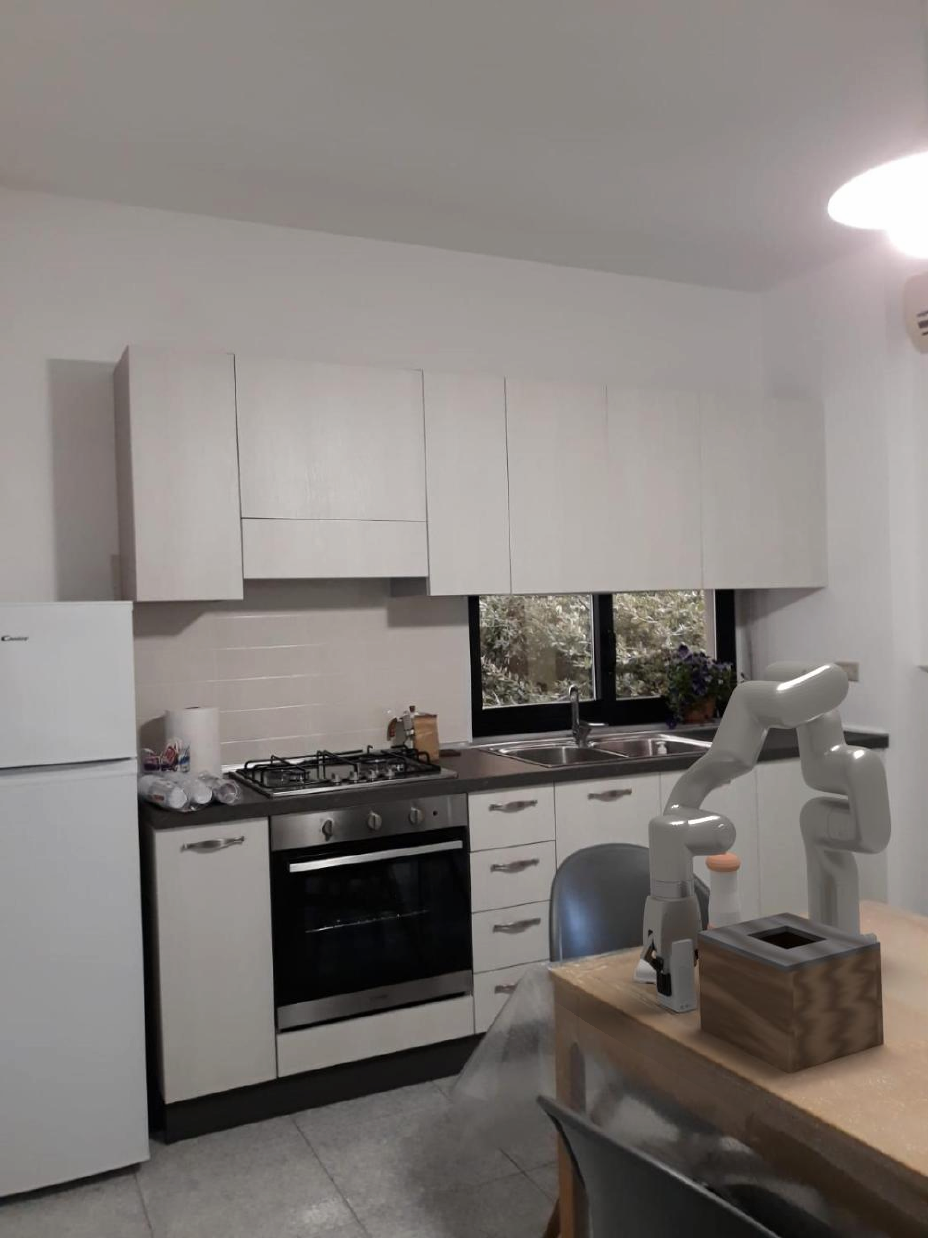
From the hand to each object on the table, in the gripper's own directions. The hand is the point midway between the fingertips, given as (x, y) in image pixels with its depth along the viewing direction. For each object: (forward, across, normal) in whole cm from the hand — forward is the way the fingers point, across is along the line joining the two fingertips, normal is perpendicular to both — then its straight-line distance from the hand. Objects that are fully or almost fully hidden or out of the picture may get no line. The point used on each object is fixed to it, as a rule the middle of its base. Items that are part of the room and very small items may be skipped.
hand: (675, 990), depth 184 cm
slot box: (+3, -7, +20) cm, 21 cm away
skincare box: (+3, 0, 0) cm, 3 cm away
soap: (+3, -6, -14) cm, 16 cm away
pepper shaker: (+3, -31, -22) cm, 38 cm away
